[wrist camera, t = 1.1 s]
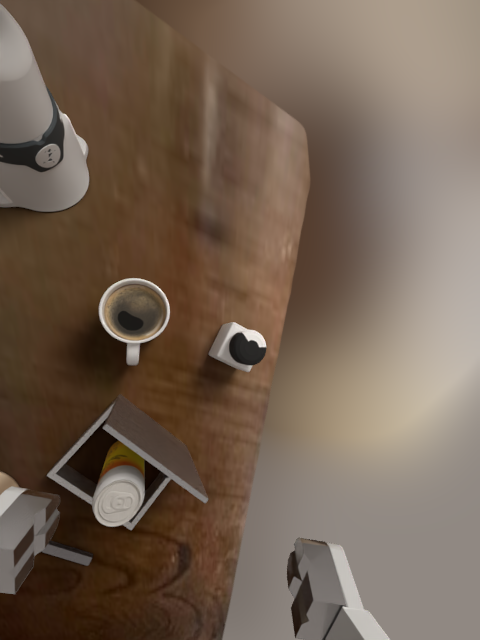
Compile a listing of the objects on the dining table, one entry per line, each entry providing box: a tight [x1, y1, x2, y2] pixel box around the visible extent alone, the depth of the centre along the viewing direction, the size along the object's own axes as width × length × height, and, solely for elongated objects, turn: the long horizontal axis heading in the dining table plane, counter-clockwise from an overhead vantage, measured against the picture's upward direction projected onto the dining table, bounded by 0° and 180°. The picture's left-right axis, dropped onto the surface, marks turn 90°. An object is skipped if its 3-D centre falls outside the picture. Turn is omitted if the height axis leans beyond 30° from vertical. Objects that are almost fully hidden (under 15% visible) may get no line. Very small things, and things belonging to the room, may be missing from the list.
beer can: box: [92, 441, 145, 527], centre depth 38 cm, size 6×6×15 cm
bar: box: [41, 540, 93, 566], centre depth 41 cm, size 10×1×1 cm, turn 61°
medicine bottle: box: [209, 322, 266, 372], centre depth 48 cm, size 7×7×12 cm
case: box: [47, 394, 208, 530], centre depth 37 cm, size 16×14×18 cm
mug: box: [99, 278, 170, 365], centre depth 43 cm, size 10×12×11 cm
